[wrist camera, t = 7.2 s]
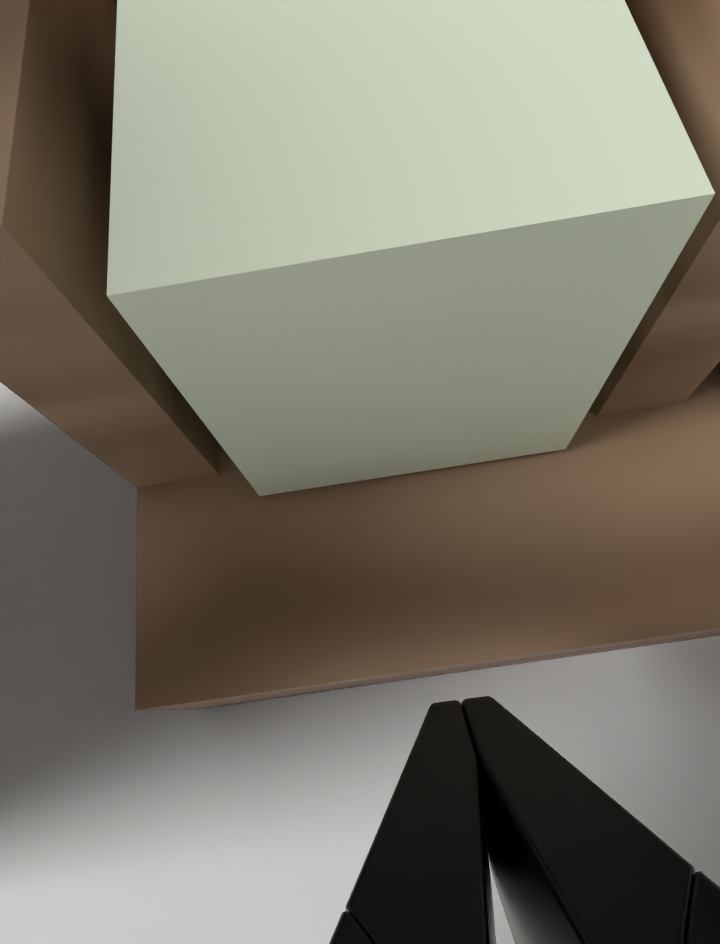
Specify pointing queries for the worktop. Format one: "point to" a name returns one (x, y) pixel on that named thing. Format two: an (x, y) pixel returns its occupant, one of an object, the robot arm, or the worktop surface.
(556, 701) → the worktop surface
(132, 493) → the worktop surface
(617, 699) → the worktop surface
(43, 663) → the worktop surface
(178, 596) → the wooden desk organizer
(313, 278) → the light green block
